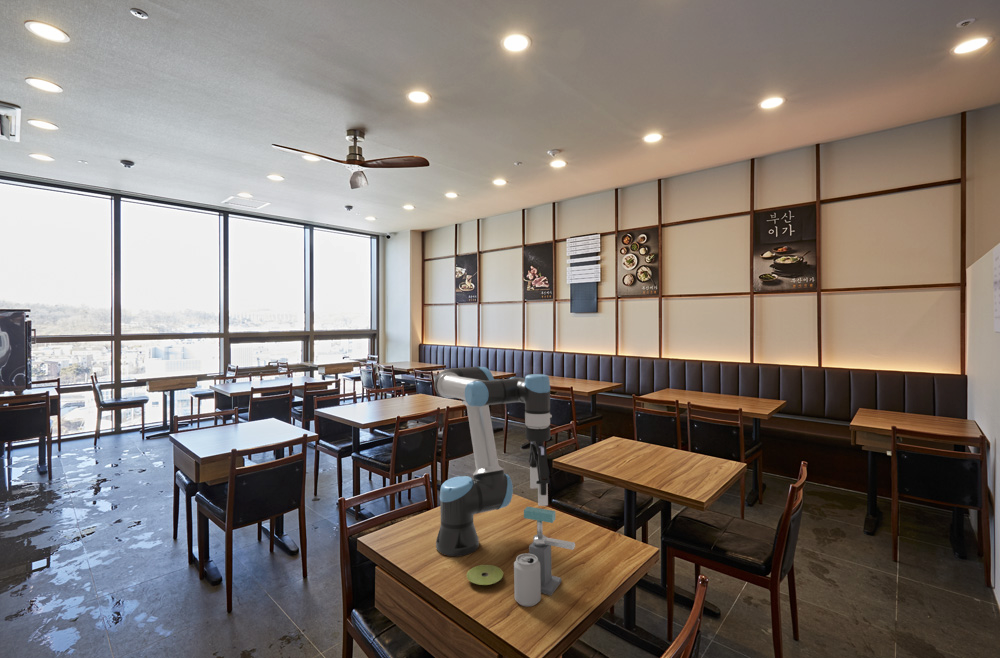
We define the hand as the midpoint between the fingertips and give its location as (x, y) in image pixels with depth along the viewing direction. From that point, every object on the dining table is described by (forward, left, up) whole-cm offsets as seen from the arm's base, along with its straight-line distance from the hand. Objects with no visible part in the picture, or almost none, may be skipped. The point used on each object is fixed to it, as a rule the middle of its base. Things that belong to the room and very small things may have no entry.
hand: (538, 496), depth 136 cm
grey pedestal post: (0, 0, -26) cm, 26 cm away
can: (0, -9, -27) cm, 28 cm away
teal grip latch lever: (+3, 0, -14) cm, 14 cm away
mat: (-16, -6, -27) cm, 32 cm away
